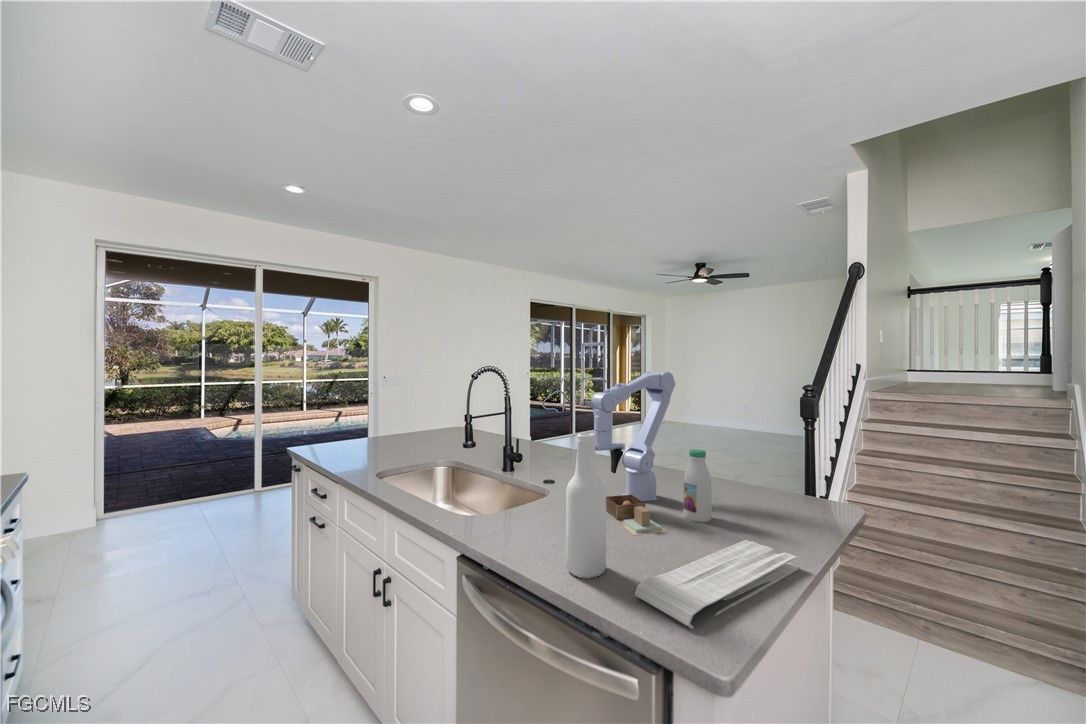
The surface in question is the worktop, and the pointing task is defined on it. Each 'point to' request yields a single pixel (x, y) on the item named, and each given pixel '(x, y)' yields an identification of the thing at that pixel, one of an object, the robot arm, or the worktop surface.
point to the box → (622, 506)
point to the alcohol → (586, 514)
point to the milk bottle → (697, 488)
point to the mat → (642, 532)
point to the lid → (641, 521)
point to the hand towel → (715, 579)
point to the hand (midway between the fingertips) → (602, 473)
